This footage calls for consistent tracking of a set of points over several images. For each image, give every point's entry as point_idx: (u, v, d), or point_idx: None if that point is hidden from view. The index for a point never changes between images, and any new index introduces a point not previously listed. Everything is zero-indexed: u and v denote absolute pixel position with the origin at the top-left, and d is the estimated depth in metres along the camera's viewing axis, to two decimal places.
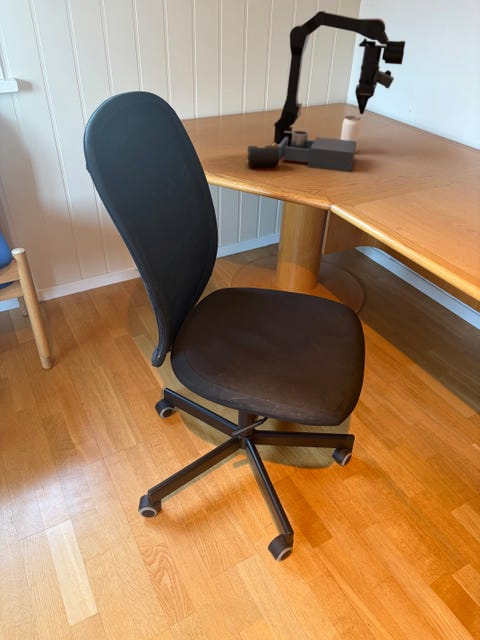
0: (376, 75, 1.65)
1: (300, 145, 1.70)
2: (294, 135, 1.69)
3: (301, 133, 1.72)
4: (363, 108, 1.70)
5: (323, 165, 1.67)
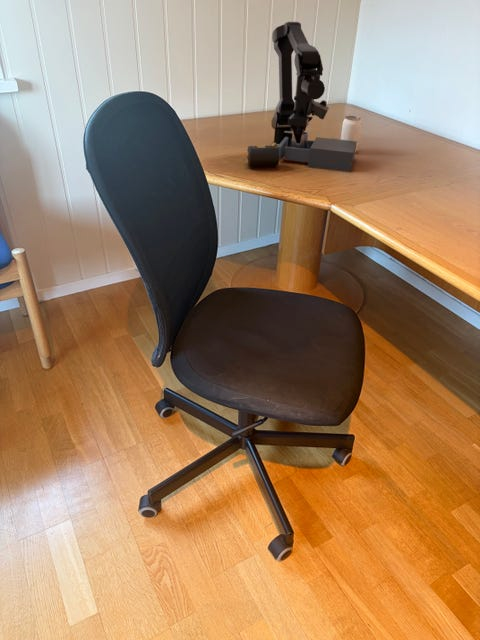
0: (309, 106, 1.61)
1: (300, 145, 1.70)
2: None
3: None
4: (299, 137, 1.67)
5: (323, 165, 1.67)
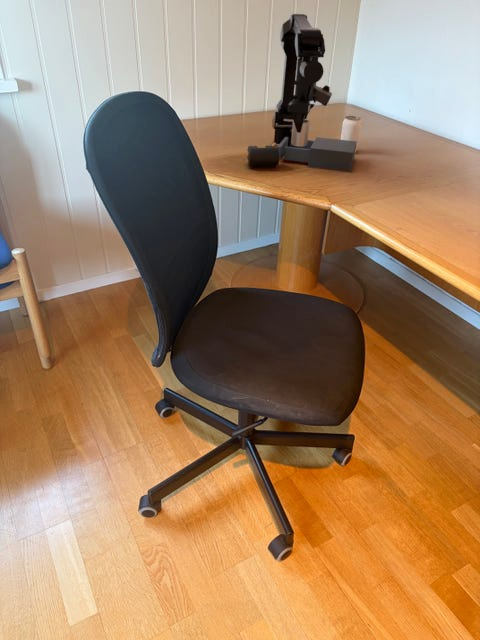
0: (311, 91, 1.48)
1: (301, 134, 1.56)
2: None
3: None
4: (299, 126, 1.54)
5: (323, 165, 1.67)
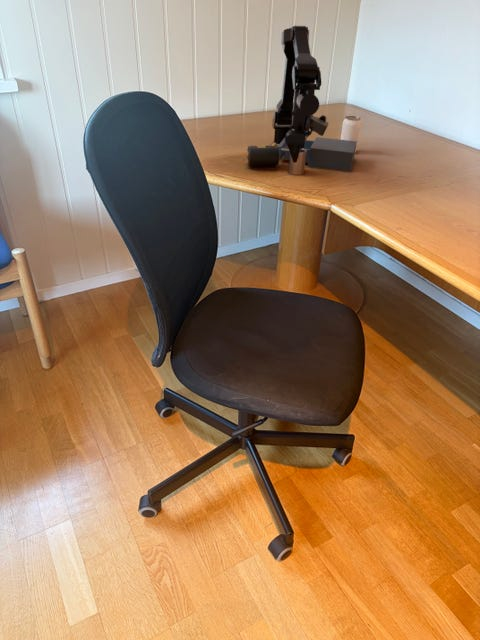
0: (308, 122, 1.51)
1: (298, 163, 1.59)
2: None
3: None
4: (295, 156, 1.55)
5: (323, 165, 1.67)
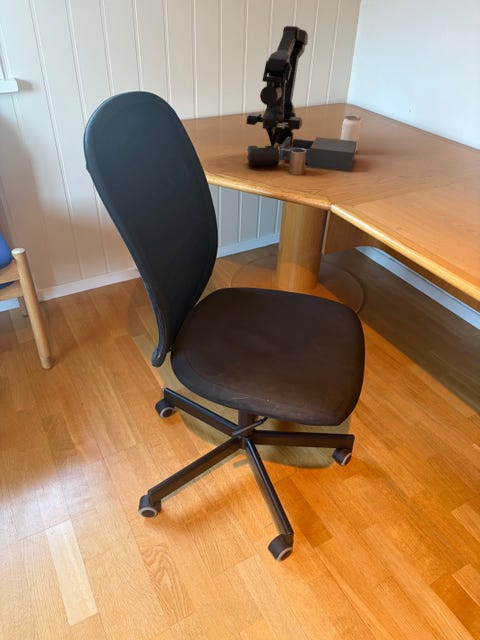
0: (265, 111, 1.66)
1: (298, 163, 1.59)
2: (291, 153, 1.59)
3: (299, 150, 1.62)
4: None
5: (323, 165, 1.67)
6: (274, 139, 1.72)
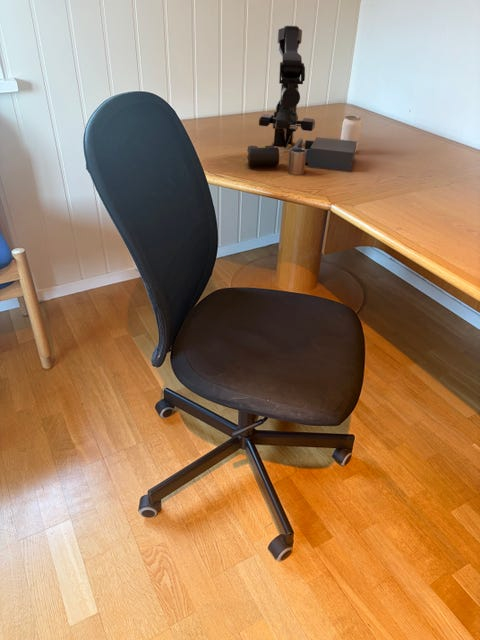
0: (278, 112, 1.65)
1: (298, 163, 1.59)
2: (291, 153, 1.59)
3: (299, 150, 1.62)
4: None
5: (323, 165, 1.67)
6: (286, 140, 1.71)
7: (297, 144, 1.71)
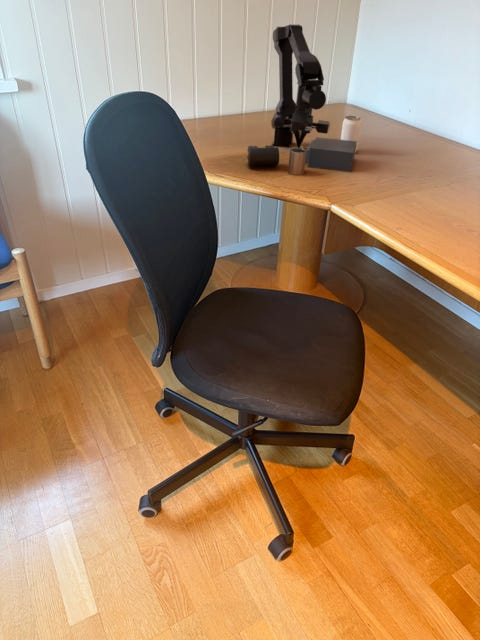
0: (293, 113, 1.64)
1: (298, 163, 1.59)
2: (291, 153, 1.59)
3: (299, 150, 1.62)
4: None
5: (323, 165, 1.67)
6: (300, 142, 1.70)
7: (310, 145, 1.70)
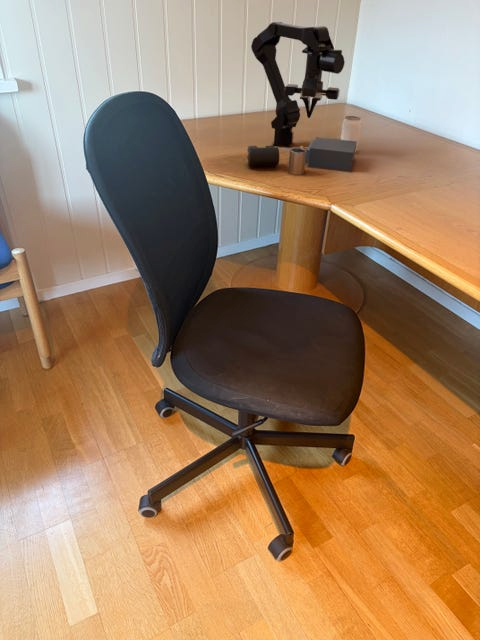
0: (303, 81, 1.67)
1: (298, 163, 1.59)
2: (291, 153, 1.59)
3: (299, 150, 1.62)
4: None
5: (323, 165, 1.67)
6: (311, 110, 1.73)
7: (310, 145, 1.70)
